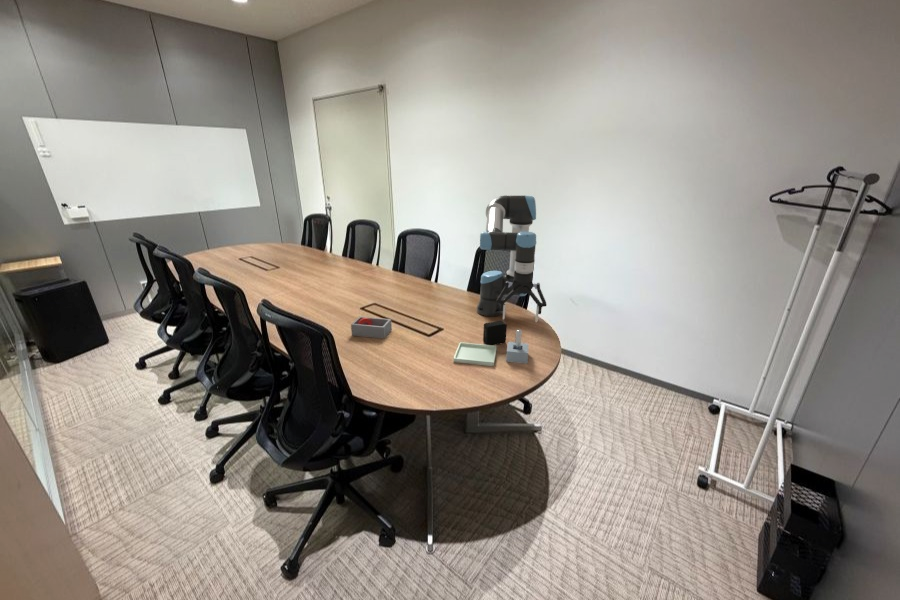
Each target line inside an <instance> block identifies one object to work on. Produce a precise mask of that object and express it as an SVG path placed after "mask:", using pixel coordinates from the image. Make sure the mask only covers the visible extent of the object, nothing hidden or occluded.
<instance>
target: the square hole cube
mask: <svg viewBox="0 0 900 600" xmlns="http://www.w3.org/2000/svg"><path fill="white" fill-rule="evenodd" d="M506 346H507V347H506V359H505V362H507V363H508V362H509V363H517V364H528V362H529V361H528V360H529V343H526V342H521V348H520V350H518V349H515V341H514V342H513V341H507V345H506Z"/></svg>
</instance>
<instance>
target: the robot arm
mask: <svg viewBox="0 0 900 600" xmlns="http://www.w3.org/2000/svg"><path fill="white" fill-rule="evenodd" d="M485 216H486V225H485V231H482V232H480V235H479V248H480V249H481V250H487V251H508V252H509V251H510V254H509V269H507V271H506V273H505V274H503V272H502V271H500V270H490V271H486V272H483V273H482V274H481V276H480V292H479V294H480V297H479V301H478V304H477V306H476V313H477V314H479V315H481V316H483V315H484V317H498V315H499V316H501V315H502V320H505V317H506V305H507V301H509V299H510V298H512V297H525V296H526V295H527V294H528V295H529V296H530V297H531V299H532V300H533V301H534V303H535V304H536V310H535V323H538V320H539V315H542V308H543V307H547V301H546V298H545V296H544V294H543V291H542V290H541V284H540V282H537V283H533V279H534V269H535V254H536V246H537V235H536V233H535V232H533V231H530V226H531V225H532V224H533V223H534V222H533V221H535V220H537V205H536V199H535V197H534V196H531V195H500V196H497V197H495V198H494V199H492V200H491V201H490V202H489V203H488V205H487V206H486V209H485ZM504 220H509V224H510V225H511V232H507V231H506V232H505V231H504ZM533 288H534V289H535V290H537V293H538V296H539V298H540V299H539V298H538V297H537V296H536V294H535V293H534V292H533V290H532V289H533ZM503 297H504V298H503ZM540 300H541V301H540ZM500 314H501V315H500Z"/></svg>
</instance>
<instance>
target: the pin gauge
mask: <svg viewBox="0 0 900 600" xmlns="http://www.w3.org/2000/svg"><path fill="white" fill-rule="evenodd" d="M522 333H523V330H522V329H516V330H515V340H514V342H515V349H518V350H520V348H521V343H522Z"/></svg>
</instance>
